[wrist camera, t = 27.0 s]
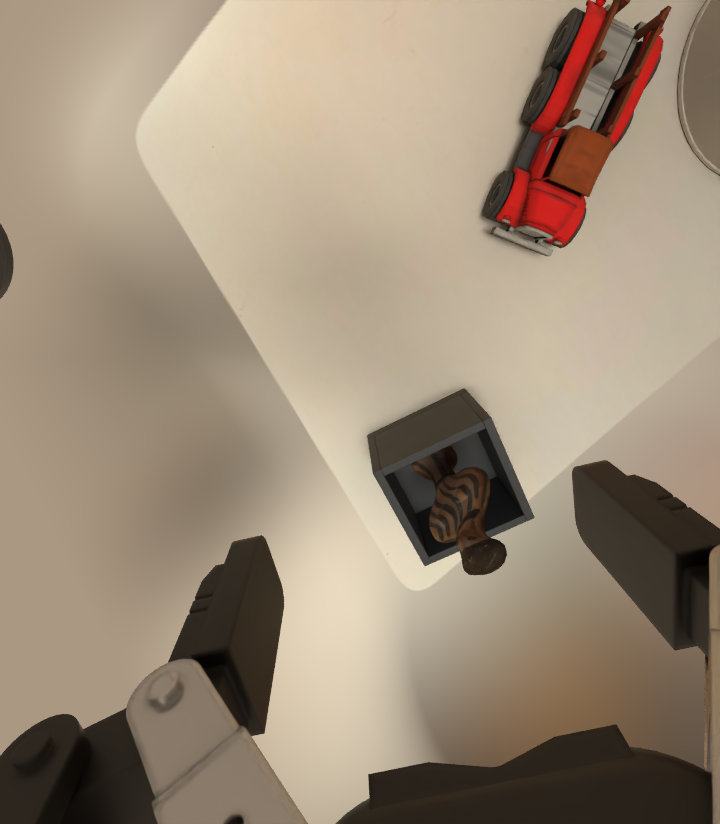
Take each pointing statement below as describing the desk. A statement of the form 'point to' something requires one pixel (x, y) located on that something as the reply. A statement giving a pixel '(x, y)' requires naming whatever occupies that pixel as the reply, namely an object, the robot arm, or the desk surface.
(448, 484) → the figurine
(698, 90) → the container
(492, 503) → the bin
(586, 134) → the toy truck
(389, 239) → the desk surface
